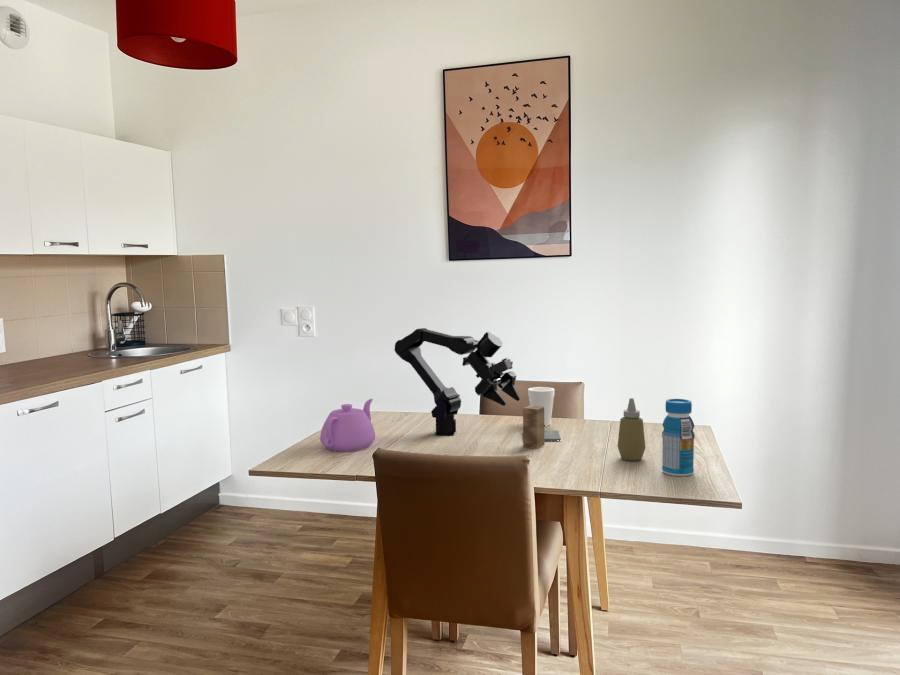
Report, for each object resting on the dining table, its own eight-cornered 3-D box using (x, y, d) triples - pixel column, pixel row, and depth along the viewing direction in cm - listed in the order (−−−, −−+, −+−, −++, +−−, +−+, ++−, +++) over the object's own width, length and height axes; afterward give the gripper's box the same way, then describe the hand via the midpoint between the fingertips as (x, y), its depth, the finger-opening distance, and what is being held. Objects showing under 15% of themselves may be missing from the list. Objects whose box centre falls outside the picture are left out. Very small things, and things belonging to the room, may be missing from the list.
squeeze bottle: (614, 455, 208) (614, 396, 206) (641, 454, 207) (642, 395, 206) (620, 462, 200) (620, 401, 198) (648, 462, 199) (649, 401, 198)
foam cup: (554, 421, 255) (553, 386, 254) (555, 427, 246) (555, 391, 245) (528, 421, 256) (527, 387, 255) (528, 427, 247) (528, 391, 246)
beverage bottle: (659, 475, 187) (660, 402, 185) (663, 467, 194) (664, 397, 192) (692, 478, 183) (693, 404, 181) (695, 470, 191) (696, 398, 189)
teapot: (348, 457, 211) (347, 413, 210) (304, 451, 220) (302, 408, 219) (393, 439, 233) (392, 399, 232) (351, 434, 242) (350, 395, 240)
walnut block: (523, 446, 220) (522, 408, 219) (530, 443, 224) (530, 405, 223) (537, 448, 217) (537, 409, 216) (544, 445, 221) (544, 406, 220)
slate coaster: (524, 441, 227) (524, 438, 227) (523, 432, 239) (523, 430, 239) (560, 441, 226) (560, 438, 226) (558, 432, 238) (558, 430, 238)
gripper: (482, 353, 217) (513, 391, 212) (511, 347, 233) (540, 382, 228) (461, 376, 223) (491, 413, 217) (491, 369, 238) (520, 403, 233)
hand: (512, 402), depth 224 cm, fingers open, 9 cm apart
